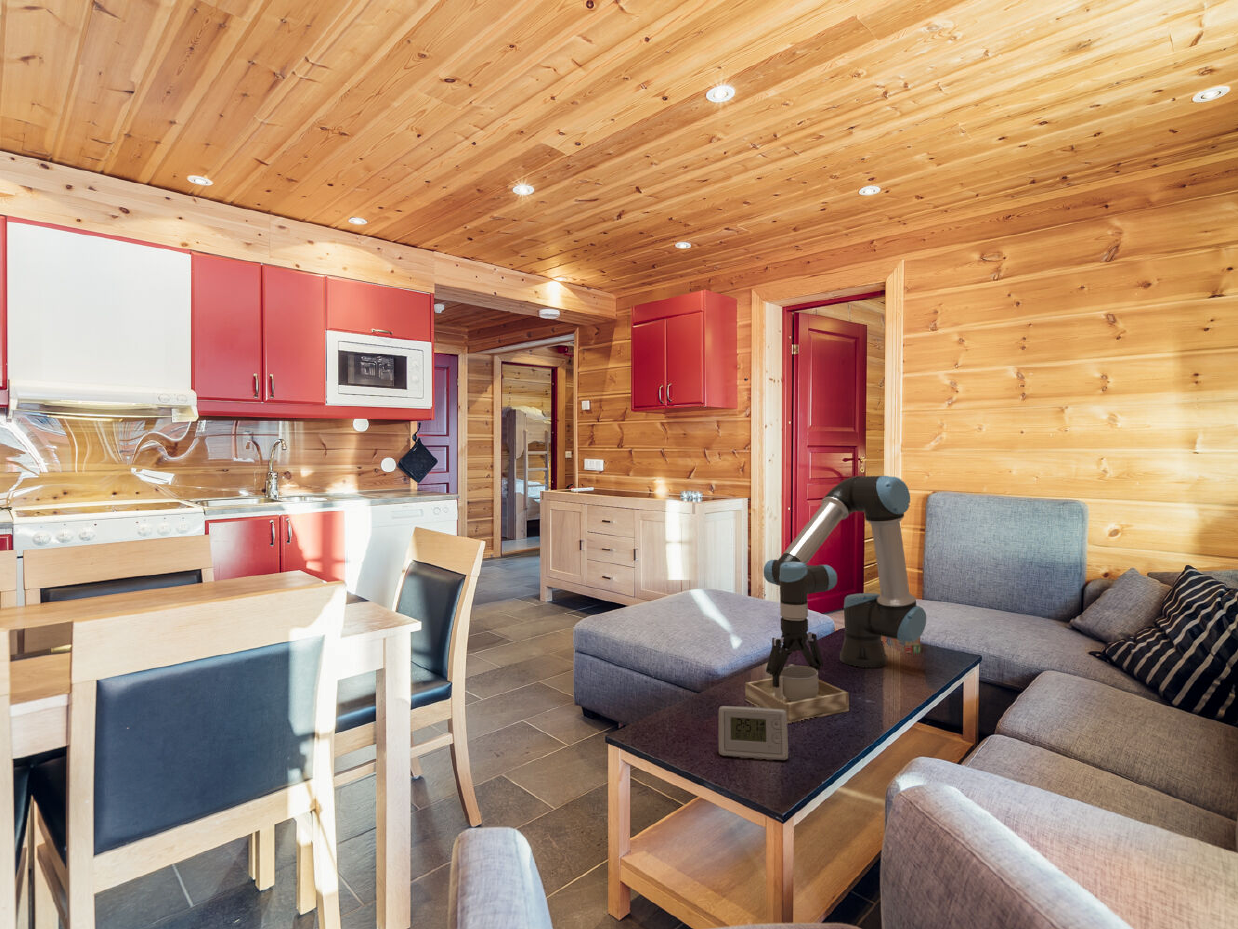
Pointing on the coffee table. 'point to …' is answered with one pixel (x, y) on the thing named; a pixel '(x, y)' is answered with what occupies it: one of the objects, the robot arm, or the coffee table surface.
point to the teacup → (799, 682)
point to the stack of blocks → (903, 645)
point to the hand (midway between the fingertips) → (795, 695)
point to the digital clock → (753, 732)
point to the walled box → (821, 705)
